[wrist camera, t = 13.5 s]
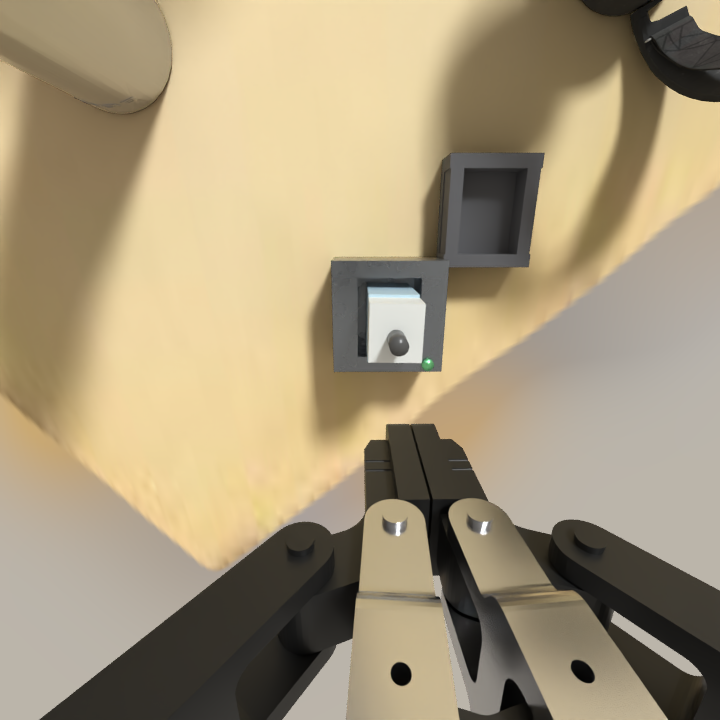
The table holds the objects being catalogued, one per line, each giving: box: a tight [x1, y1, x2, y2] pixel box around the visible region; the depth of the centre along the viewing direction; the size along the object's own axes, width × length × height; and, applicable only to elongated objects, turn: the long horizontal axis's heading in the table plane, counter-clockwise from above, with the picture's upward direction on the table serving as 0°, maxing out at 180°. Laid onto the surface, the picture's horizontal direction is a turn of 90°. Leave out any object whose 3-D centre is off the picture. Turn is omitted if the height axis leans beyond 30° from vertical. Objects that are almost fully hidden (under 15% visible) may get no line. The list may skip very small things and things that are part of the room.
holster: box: [436, 153, 545, 267], centre depth 30 cm, size 8×7×3 cm
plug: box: [366, 282, 426, 363], centre depth 28 cm, size 5×4×12 cm
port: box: [331, 257, 449, 372], centre depth 32 cm, size 9×9×5 cm
